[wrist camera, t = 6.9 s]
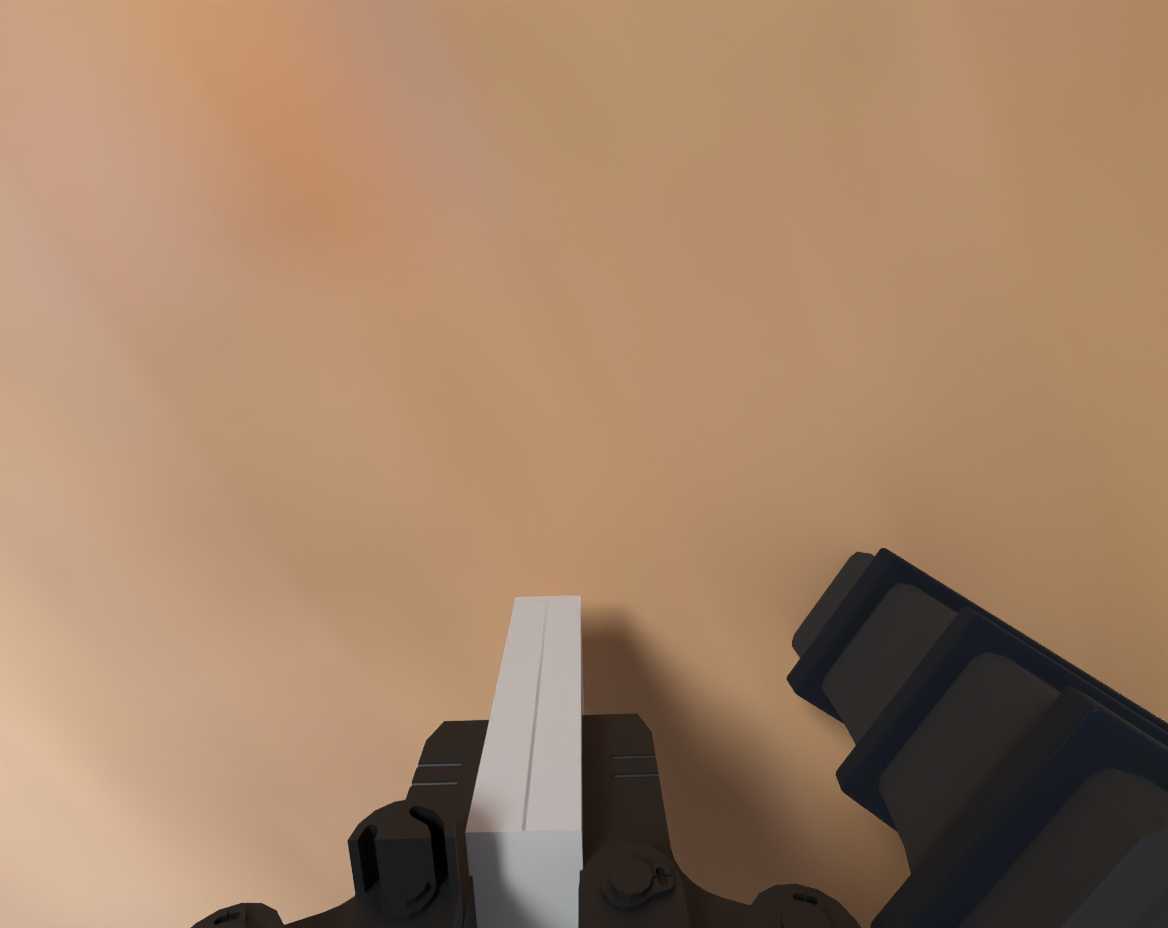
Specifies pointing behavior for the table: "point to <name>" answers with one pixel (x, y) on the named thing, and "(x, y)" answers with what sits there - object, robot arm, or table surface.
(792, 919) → the robot arm
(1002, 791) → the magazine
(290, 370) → the table surface
